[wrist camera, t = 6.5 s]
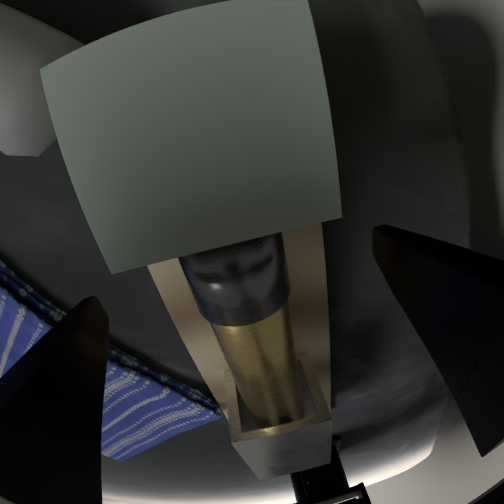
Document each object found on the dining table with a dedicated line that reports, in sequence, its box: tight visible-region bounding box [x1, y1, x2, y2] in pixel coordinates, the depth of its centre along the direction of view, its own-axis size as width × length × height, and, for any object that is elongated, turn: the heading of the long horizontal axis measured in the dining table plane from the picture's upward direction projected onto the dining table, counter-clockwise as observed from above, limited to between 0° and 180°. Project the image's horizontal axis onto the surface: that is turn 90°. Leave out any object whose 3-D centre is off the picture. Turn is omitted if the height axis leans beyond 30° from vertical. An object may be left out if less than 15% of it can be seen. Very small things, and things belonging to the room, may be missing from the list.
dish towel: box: [0, 260, 222, 462], centre depth 16 cm, size 17×24×3 cm
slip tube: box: [178, 232, 305, 429], centre depth 12 cm, size 16×4×4 cm, turn 12°
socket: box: [40, 0, 342, 274], centre depth 8 cm, size 6×6×5 cm
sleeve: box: [224, 351, 332, 480], centre depth 17 cm, size 8×5×5 cm, turn 12°
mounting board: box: [147, 223, 331, 430], centre depth 16 cm, size 28×8×1 cm, turn 12°
